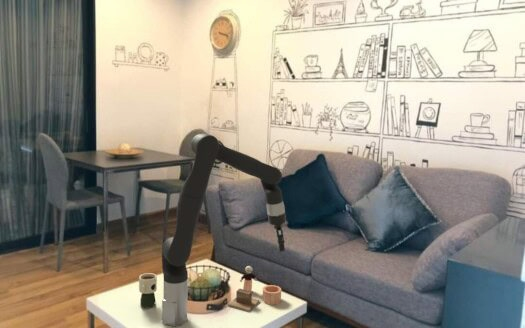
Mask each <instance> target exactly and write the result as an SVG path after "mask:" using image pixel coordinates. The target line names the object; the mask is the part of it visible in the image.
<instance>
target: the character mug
mask: <svg viewBox="0 0 525 328" xmlns="http://www.w3.org/2000/svg"><path fill="white" fill-rule="evenodd" d="M157 277H158V276H157V274H155V273H150V272H147V273H146V272H145V273H143V274H140V275H139V277H138V291H139V293H141V295H140V307H142V308H148V309H150V308H153V307H154V306H156V305H157V301H156V296H155V295H156V294H155V292H156V291H157V289H158V286H157V284H158V283H157V281H158V280H157Z"/></svg>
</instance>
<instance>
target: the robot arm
mask: <svg viewBox="0 0 525 328" xmlns="http://www.w3.org/2000/svg"><path fill="white" fill-rule="evenodd" d="M190 148H191V151H192V152H193V153H194V154H195V156H194V161H193V166H192V168H191V170H190V172H189V175H188V176H187V178H186V179H185V181H184V183H183V185H182V187H181V189H180V193H179V197H178V200H177V205H176V226H175V232H174V235H173V236H172V237H168V238H167V239H166V240H165V241H164V243H163V244H162V247H161V267H162V270H161V271H162V275H163V299H162V300H161V304H162V305H161V323H162V324H164V325H168V326H171V327H177V326H180V325H183V324H185V323H186V322H187V321H188V291H189V290H188V288H189V287H188V285H189V283H188V282H189V281H188V280H189V276H188V275H189V273H188V268H187V264H186V263H187V262H188V260H189V259H190V256H191V252H192V247H193V240H194V235H195V230H196V227H197V224H198V221H199V216H200V215H201V214H200V212H201V210H202V207H203V204H204V199H205V196H206V191H207V189H208V184H209V180H210V176H211V173H212V170H213V167H214V165H215V163H216V161H219V162H221V163H223V164H225V165H227V166H230V167H232V168H234V169H236V170H237V171H239V172H242V173H244V174H246V175H249V176H251V177H254V178H257V179H260V183H261V186H262V188H263V191H264V194H265V200H266V201H265V203H266V214H267V218H268V224H269V225H271V226H273V230H274V233H275V238H276V241H277V244H278V249H279V252H281V253H282V252H285V251H286V250H285V249H286V248H285V233H284V232H285V231H284V226H283V224H285V223H286V222H287V217H286V210H285V209H286V208H285V204H284V198H283V193H282V189H281V188H280V187H279V186H278V184H279V183H281V181H282V179H283V174H282V172H281V170H280V168H277V167H275V166H272V165H270V164H267V163H265V162H263V161H260V160H258V159H257V158H255V157H253V156H250V155H248V154H246V153H242V152H240V151H238V150H234V149H232V148H229V147H227V146H225V145H223V144H221V143H220V142H219V140H218V138H217V137H215V136H214V135H211V134H208V133H198V134H196V135H195V136H194V137H193V138H192V139H191V142H190Z"/></svg>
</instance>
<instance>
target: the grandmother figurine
mask: <svg viewBox="0 0 525 328" xmlns="http://www.w3.org/2000/svg"><path fill="white" fill-rule="evenodd" d="M244 271H245V273H244V274H243V275H242V276H241V278H240V280H239V282H240V283H242V282H243V287H242V289H244V290H248V291H252V290H253V289H252V288H253V280H254V281H255V282H257V280H258V279H257V276H256V275H255V274H254V273H252V272H253V267H252V266H251V265H247V266H246V267H245V270H244Z"/></svg>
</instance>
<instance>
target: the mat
mask: <svg viewBox="0 0 525 328" xmlns="http://www.w3.org/2000/svg"><path fill="white" fill-rule="evenodd" d="M260 303H261V301H260V300H259V303H258V304H257V305H256V306H255V307H254V308H253V309H251V310H250V311H249V312H248V311H244V310H240V309H237V308H233V307H229V306H228V304H227V305H226V308H227V307H228V308H231V309H234V310H238V311H242V312H246V313H249V314H250V313H251V312H252V311H253V310H254V309H255V308H257V306H259V304H260Z"/></svg>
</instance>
